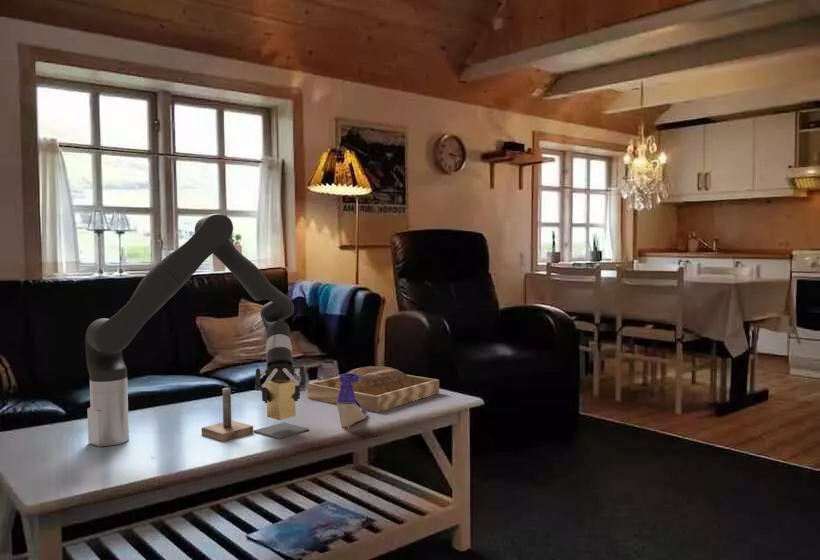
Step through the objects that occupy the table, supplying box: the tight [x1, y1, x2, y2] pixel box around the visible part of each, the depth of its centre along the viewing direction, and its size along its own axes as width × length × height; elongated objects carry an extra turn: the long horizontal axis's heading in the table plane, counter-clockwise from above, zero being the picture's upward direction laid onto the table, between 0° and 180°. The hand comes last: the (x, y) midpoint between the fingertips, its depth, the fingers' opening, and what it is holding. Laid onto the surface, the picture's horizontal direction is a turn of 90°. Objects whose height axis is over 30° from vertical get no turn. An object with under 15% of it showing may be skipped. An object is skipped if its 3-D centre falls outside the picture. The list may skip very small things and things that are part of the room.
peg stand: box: [201, 387, 254, 442], centre depth 187 cm, size 10×10×13 cm
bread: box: [335, 365, 412, 396], centre depth 236 cm, size 26×27×10 cm
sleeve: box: [266, 379, 296, 421], centre depth 189 cm, size 6×6×10 cm
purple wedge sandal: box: [336, 373, 368, 429], centre depth 201 cm, size 8×20×15 cm, turn 165°
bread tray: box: [306, 374, 440, 413], centre depth 233 cm, size 33×32×5 cm
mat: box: [253, 422, 310, 440], centre depth 190 cm, size 11×11×1 cm
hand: (281, 400), depth 188 cm, fingers closed on sleeve, 8 cm apart
